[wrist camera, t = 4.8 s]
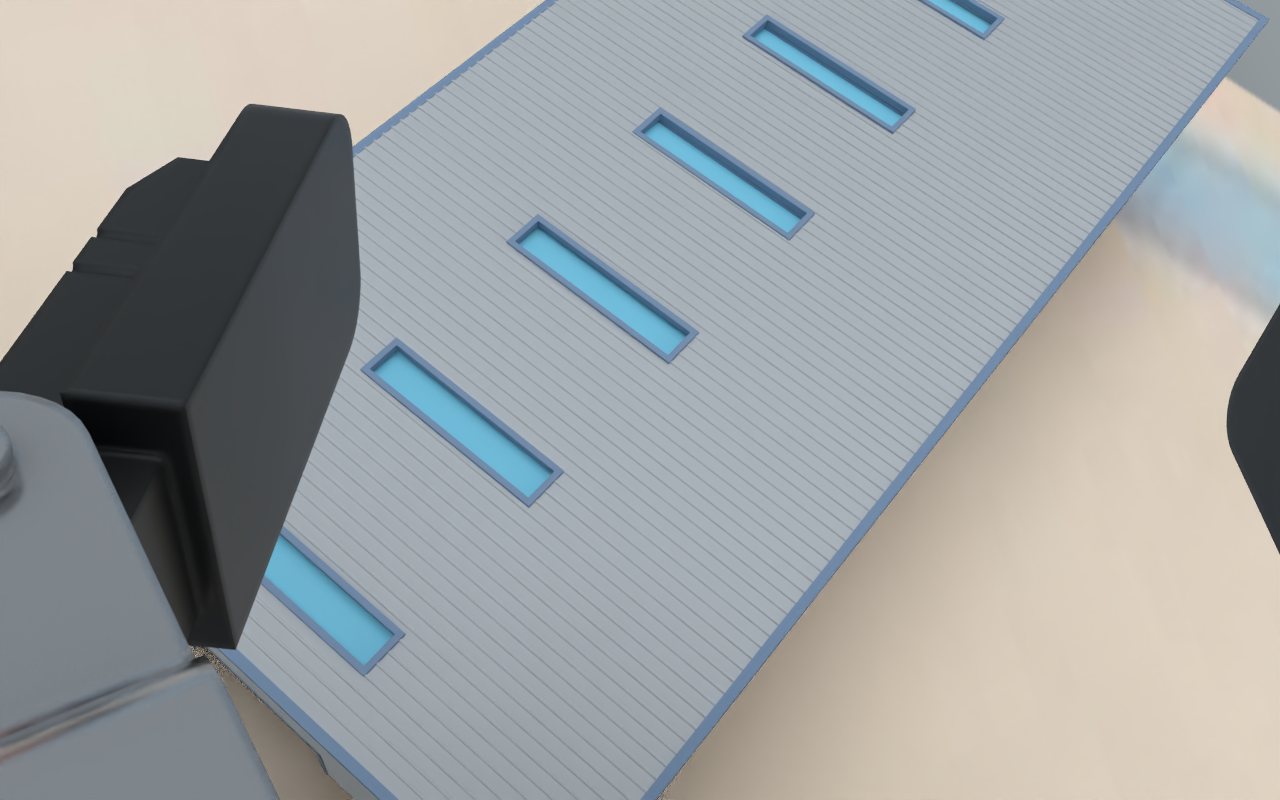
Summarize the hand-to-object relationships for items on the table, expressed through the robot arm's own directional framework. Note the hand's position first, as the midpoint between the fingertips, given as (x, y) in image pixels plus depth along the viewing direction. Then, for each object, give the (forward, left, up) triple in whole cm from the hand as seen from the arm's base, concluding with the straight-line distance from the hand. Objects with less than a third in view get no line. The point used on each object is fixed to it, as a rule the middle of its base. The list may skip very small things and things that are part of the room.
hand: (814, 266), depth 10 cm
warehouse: (+4, +10, -21) cm, 24 cm away
